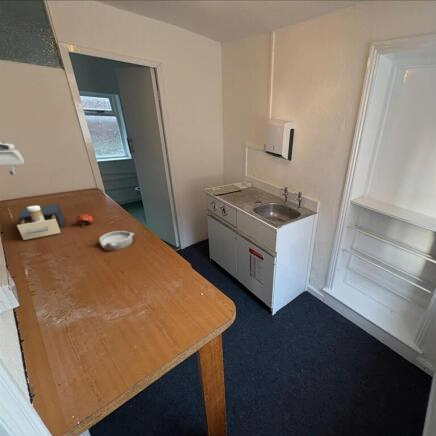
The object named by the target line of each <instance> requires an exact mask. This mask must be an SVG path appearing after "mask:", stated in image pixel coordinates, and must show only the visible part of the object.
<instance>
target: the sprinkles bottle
mask: <svg viewBox="0 0 436 436" xmlns="http://www.w3.org/2000/svg"><path fill="white" fill-rule="evenodd" d="M26 208H27V210H28V211H29V213H30V216H31V218H32V221H33V222H39V221H45V219H44V217H43V214H42V212H41V210H40V209H41V208H40V205H30V206H27V207H26Z"/></svg>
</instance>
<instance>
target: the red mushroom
mask: <svg viewBox="0 0 436 436" xmlns="http://www.w3.org/2000/svg"><path fill="white" fill-rule="evenodd" d="M75 221H76V223H78V224H79V225H80V226H82V227H81V228H84V226H86V225H91V224H92V223H93V222H94V218H93V216H92V215H91V214H89V213H87V212H85V213H81V214H78V215H77V216H76V217H75Z"/></svg>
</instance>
